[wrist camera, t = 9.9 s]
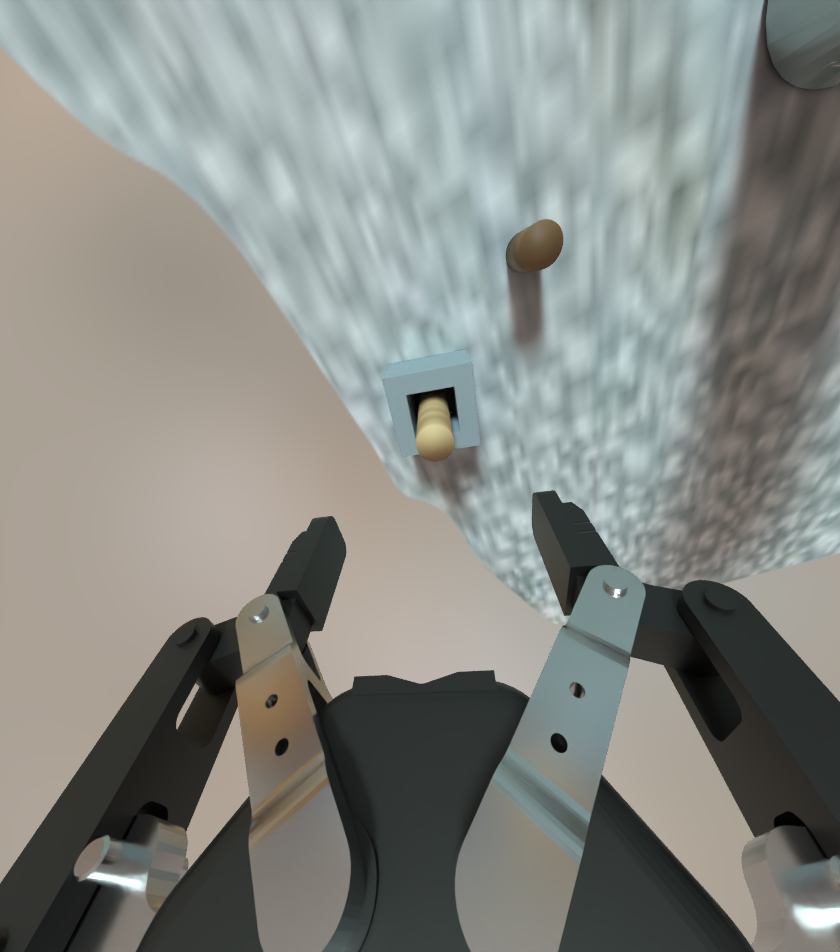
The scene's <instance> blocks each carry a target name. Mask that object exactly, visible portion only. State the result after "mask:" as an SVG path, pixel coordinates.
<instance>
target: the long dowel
mask: <svg viewBox="0 0 840 952" xmlns="http://www.w3.org/2000/svg"><path fill="white" fill-rule="evenodd" d="M416 448H417V451H418V453H419V454H420V455H421V456H422V457H423V458H425V459H427V460H430V461H439V460H443V459H445V458H446V457H448V456H449V455H450V454H451V452H452V451H453V448H454V438H453V432H452V426H451V420H450V413H449V407H448V401H447V395H446V390H445V388H443V389H438V390H432V391H427V392H421V393H420V397H419V410H418V423H417V435H416Z"/></svg>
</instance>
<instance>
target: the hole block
mask: <svg viewBox="0 0 840 952" xmlns="http://www.w3.org/2000/svg"><path fill="white" fill-rule="evenodd" d="M382 381H383V385H384V389H385V392H386V396H387V400H388V404H389V408H390V412H391V416H392V420H393V424H394V428H395V432H396V436H397V440H398V444H399V448H400V452H401V456H402V457H406V456H413V455H419V453H418V451H417V448H416V435H417V423H418V414H417V409H416V405H415V400H414V395H413V394H415V393H421V392H427V391H432V390H438V389H443V388H449V387H453V391H454V399H455V406H456V410H451V411H449V413H450V420H451V426H452V432H453V438H454V448H453V449H458V448H465V447H471V446H478V445H480V437H479V426H478V416H477V405H476V395H475V384H474V374H473V364H472V361H471V359H470V357H469V355H468V353H467V351H466V349H465V350H460V351H455V352H449V353H444V354H439V355H434V356H429V357H424V358H419V359H413V360H408V361H403V362H398V363H393V364H390V365H389V367H388V369H387V371H386V373H385V375H384V377H383V379H382Z"/></svg>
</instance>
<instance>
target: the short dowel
mask: <svg viewBox="0 0 840 952" xmlns="http://www.w3.org/2000/svg"><path fill="white" fill-rule="evenodd" d="M562 246H563V233H562V230H561V228H560V226H559V225H558V224H557V223H556V222H554V221H552V220H549V219H545V220H540V221H538V222H536V223H535V224H533V225H531V226H530V227H528V228H526V229H525V230H523V231H521V232H520V233H518V234H516V235H515V236H514V237H513V238H512V239H511V241H510V242H509V244H508V247H507V250H506V261H507V264H508V266H509V267H510V268H511V269H512V270H513V271H515V272H528V271H535V270H542V269H545V268H547V267H549V266H550V265H551V264H553V263H554V262H555V260H556V259H557V258H558V256H559V254H560V252H561V250H562Z"/></svg>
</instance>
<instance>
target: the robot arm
mask: <svg viewBox="0 0 840 952" xmlns="http://www.w3.org/2000/svg"><path fill="white" fill-rule="evenodd" d="M766 34H767V47H768V50H769V53H770V56H771V60H772V63H773V65H774V67H775V68H776V70H777V71H778V72H779V74H780V75H781V77H782V78H783V79H784V80H786V81H788V82H789V83H791V84H792V85H794V86H795V87H800V88H805V89H810V90H813V89H821V88H828V87H832V86H835V85H837V84H840V0H768V6H767V15H766ZM532 529H533V534H534V538H535V541H536V543H537V546H538V549H539V551H540V554H541V556H542V559H543V562H544V564H545V567H546V569H547V572H548V575H549V577H550V580H551V582H552V585H553V588H554V590H555V593H556V595H557V598H558V600H559V603H560V606H561V608H562V611H563V613H564V616H567V615H570V618H569V620H568V622H567V624H566V626H562V628H561V630H560V632H559V634H558V636H557V638H556V641H555V643H554V645H553V647H552V650H551V652H550V654H549V656H548V659H547V661H546V663H545V666H544V668H543V670H542V672H541V675H540V677H539V679H538V681H537V684H536V686H535V688H534V691H533V693H532V695H531V697H530V698H529V697H528V696H527V695H525V694H524V693H522V692H521V691H519V690H517V689H515V688H514V687H511V686H509V685H506V684H504V683H500V682H496V681H495V675H494V670H491V671H469V672H457V673H454V674H451V675H448V676H445V677H442V678H439V679H436V680H433V681H430V682H427V683H424V684H418V683H415V682H411V681H407V680H403V679H399V678H396V677H392V676H388V675H381V676H359V677H354V682H353V688H352V689H350V690H348V691H346V692H344V693H342V694H340V695H339V696H337V697H335V698H334V699H333V698H332V697H331V695H330V693H329V691H328V689H327V687H326V685H325V682H324V680H323V677H322V674H321V672H320V669H319V667H318V664H317V662H316V659H315V656H314V654H313V651H312V648H311V646H310V643H309V642H308V637H309V634H310V632H312V631H322V629H323V627H324V623H325V620H326V617H327V614H328V611H329V608H330V604H331V601H332V598H333V595H334V592H335V589H336V585H337V582H338V579H339V576H340V573H341V570H342V566H343V563H344V560H345V557H346V545H345V541H344V539H343V537H342V534H341V532H340V530H339V527H338V525H337V523H336V521H335V519H334V517H332V516H328V517H319V518H314V519H312V521H311V523H310V525H309V527H308V529H307V531H305V532H302V533H301V534H300V535H299V536H298V537H297V538H296V539H295V540H294V541H293V542H292V544H291V546H290V548H289V550H288V552H287V554H286V555H285V557H284V559H283V562H282V563H281V564H280V566H279V568H278V570H277V572H276V574H275V576H274V578H273V579H272V581H271V583H270V585H269V587H268V589H267V591H266V593H265V594H264V595H261V596H259V597H257V598H255V599H253V600H252V601H250V602H249V603H248V604H247V605H246V606H245V607H244V608H243V609H242V610H241V611H240V613H239V615H238V617H235V618H233V619H230V620H227V621H225V622H222V623H219V624H216V625H213V623H212V622H210V620H209V619H207V618H204V617H201V618H196V619H193V620H191V621H189V622H187V623H185V624H184V625H182V626H181V627H180V628H178V629H177V630H176V631H175V632H174V633H173V634H172V635H171V636H170V637H169V638H168V640H167V641H166V643H165V644H164V646H163V647H162V648H161V650H160V651H159V653H158V654H157V656H156V657H155V659H154V660H153V662H152V663H151V664H150V666H149V667H148V669H147V670H146V672H145V673H144V675H143V676H142V678H141V679H140V681H139V682H138V683H137V685H136V686H135V688H134V689H133V691H132V693H131V694H130V695H129V697H128V698H127V700H126V701H125V703H124V704H123V705H122V707H121V708H120V710H119V711H118V713H117V714H116V716H115V717H114V719H113V720H112V722H111V723H110V724H109V726H108V727H107V729H106V730H105V732H104V733H103V735H102V736H101V738H100V739H99V741H98V742H97V743H96V745H95V746H94V748H93V749H92V751H91V752H90V754H89V755H88V756H87V758H86V759H85V761H84V762H83V764H82V765H81V767H80V768H79V770H78V771H77V772H76V774H75V775H74V777H73V778H72V780H71V781H70V783H69V784H68V786H67V787H66V789H65V790H64V791H63V793H62V794H61V796H60V797H59V799H58V800H57V802H56V803H55V805H54V806H53V808H52V809H51V811H50V812H49V813H48V815H47V816H46V818H45V819H44V821H43V822H42V824H41V825H40V827H39V828H38V829H37V831H36V832H35V834H34V835H33V837H32V838H31V840H30V841H29V843H28V844H27V845H26V847H25V848H24V850H23V851H22V853H21V854H20V856H19V857H18V859H17V860H16V862H15V863H14V864H13V866H12V867H11V869H10V870H9V872H8V873H7V875H6V876H5V878H4V879H3V881H2V882H1V884H0V952H840V702H839V701H838V700H837V698H836V697H835V696H834V695H833V694H832V693H831V692H830V691H829V689H828V688H827V687H826V686H825V685H824V684H823V683H822V682H821V681H820V679H819V678H818V677H817V676H816V675H815V674H814V673H813V672H812V671H811V669H810V668H809V667H808V666H807V665H806V664H805V663H804V661H803V660H802V659H801V658H800V657H799V656H798V655H797V654H796V653H795V651H794V650H793V649H792V648H791V647H790V646H789V645H788V644H787V643H786V641H785V640H784V639H783V638H782V637H781V636H780V635H779V634H778V632H777V631H776V630H775V629H774V628H773V627H772V626H771V625H770V623H769V622H768V621H767V620H766V619H765V618H764V617H763V616H762V614H761V613H760V612H759V611H758V610H757V609H756V608H755V607H754V605H753V604H752V603H751V602H750V601H749V600H748V599H747V598H745V597H744V596H743V595H742V594H740V593H739V592H737V591H736V590H734V589H732V588H730V587H728V586H725V585H723V584H720V583H717V582H713V581H707V580H697V581H692V582H690V583H688V584H686V585H685V587H684V588H683V591H681V590H675V589H669V588H663V587H658V586H653V585H649V584H645V583H643V582H641V581H640V580H639V578H638V577H636V576H635V575H634V574H633V573H631V572H629V571H628V570H626V569H623V568H621V567H619V565H618V564H617V562H616V561H615V559H614V558H613V556H612V555H611V553H610V551H609V550H608V548H607V547H606V545H605V544H604V542H603V540H602V539H601V537H600V536H599V534H598V533H597V532H596V530H595V528H594V526H593V525H592V523H590V520H589V519H588V517H587V515H586V514H585V512H584V511H583V510H582V509H581V508H579V507H578V506H576V505H575V504H574V503H572V502H568V503H562V502H561V500H560V498H559V497H558V495H557V493H556V492H555V491H554V490H552V491H544V492H536V493H533V498H532ZM630 657H634V658H638V659H642V660H646V661H650V662H654V663H657V664H661V665H664V667H665V668H666V670H667V672H668V674H669V676H670V678H671V680H672V682H673V683H674V685H675V687H676V689H677V691H678V693H679V695H680V697H681V699H682V701H683V703H684V704H685V706H686V708H687V710H688V712H689V714H690V716H691V718H692V720H693V721H694V723H695V725H696V727H697V729H698V731H699V733H700V735H701V736H702V738H703V740H704V742H705V744H706V746H707V748H708V750H709V752H710V754H711V755H712V757H713V759H714V761H715V763H716V765H717V767H718V768H719V771H720V773H721V774H722V776H723V778H724V780H725V782H726V784H727V786H728V787H729V790H730V791H731V793H732V795H733V797H734V799H735V801H736V803H737V805H738V806H739V808H740V810H741V812H742V814H743V816H744V818H745V820H746V822H747V824H748V825H749V827H750V829H751V831H752V833H753V835H754V837H755V838H753V839H752V840H750V841H749V842H747V844H746V845H745V847H744V849H743V852H742V869H743V873H744V877H745V880H746V883H747V886H748V888H749V891H750V894H751V896H752V899H753V902H754V906H755V910H756V917H757V933H756V936H755V940H754V942H753V943H752V945H750V944H749V942H748V941H747V939H746V938H745V937H744V936H743V934H742V933H741V931H740V930H739V929H738V927H737V926H736V925H735V923H734V922H733V921H732V920H731V919H730V917H729V916H728V915H727V914H726V912H725V911H724V910H723V909H722V908H721V907H720V906H719V905H718V903H717V902H716V901H715V900H714V899H713V898H712V897H711V896H710V895H709V893H708V892H707V891H706V890H705V889H704V888H703V887H702V886H701V884H700V883H699V882H698V881H697V880H696V879H695V878H694V877H693V876H692V874H691V873H690V872H689V871H688V870H687V869H686V868H685V867H684V866H683V865H682V863H681V862H680V861H679V860H678V859H677V858H676V857H675V856H674V855H673V853H672V852H671V851H670V850H669V849H668V848H667V847H666V846H665V845H664V843H663V842H662V841H661V840H660V839H659V838H658V837H657V836H656V834H655V833H654V832H653V831H652V830H651V829H650V828H649V827H648V826H647V824H646V823H645V822H644V821H643V820H642V819H641V818H640V817H639V816H638V815H637V813H636V812H635V811H634V810H633V809H632V808H631V807H630V806H629V805H628V803H627V802H626V801H625V800H624V799H623V798H622V797H621V796H620V794H619V793H618V792H617V791H616V790H615V789H614V788H613V787H612V786H611V785H610V783H609V782H608V781H607V780H606V779H605V778H604V777H603V776H602V770H603V766H604V763H605V758H606V754H607V751H608V747H609V742H610V739H611V735H612V731H613V727H614V723H615V719H616V715H617V711H618V707H619V703H620V699H621V695H622V691H623V688H624V684H625V679H626V676H627V672H628V667H629V663H630ZM195 683H196V684H197V685H198V686H200V687H199V689H198V691H197V693H196V695H195V697H194V699H193V701H192V703H191V705H190V707H189V708H188V710H187V712H186V714H185V716H184V718H183V720H182V722H181V724H180V726H179V727H178V729H176V720H177V717H178V714H179V712H180V710H181V708H182V706H183V705H184V703H185V701H186V699H187V697H188V696H189V694H190V692H191V690H192V688H193V686H194V684H195ZM237 707H238V709H239V717H240V725H241V732H242V740H243V747H244V756H245V764H246V771H247V779H248V787H249V794H250V796H249V797H248V798H247V799H246V801H245V802H244V803H243V804H242V805H241V807H240V808H239V809H238V810H237V811H236V813H235V814H234V815H233V816H232V818H231V819H230V820H229V821H228V822H227V824H226V825H225V826H224V827H223V828H222V830H221V831H220V832H219V833H218V834H217V836H216V837H215V838H214V839H213V841H212V842H211V843H210V844H209V846H208V847H207V848H206V849H205V850H204V852H203V853H202V854H201V855H200V856H199V858H198V859H197V860H196V861H195V862H194V864H193V865H192V866H191V867H190V869H189V870H188V859H187V858H186V852H187V843H188V842H187V834H186V831H187V828H188V826H189V823H190V821H191V818H192V816H193V814H194V811H195V809H196V806H197V804H198V801H199V799H200V797H201V794H202V792H203V789H204V787H205V784H206V782H207V780H208V777H209V775H210V772H211V770H212V767H213V765H214V763H215V760H216V758H217V755H218V753H219V750H220V748H221V746H222V743H223V741H224V738H225V736H226V733H227V731H228V729H229V726H230V724H231V721H232V719H233V716H234V714H235V712H236V709H237Z"/></svg>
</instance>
